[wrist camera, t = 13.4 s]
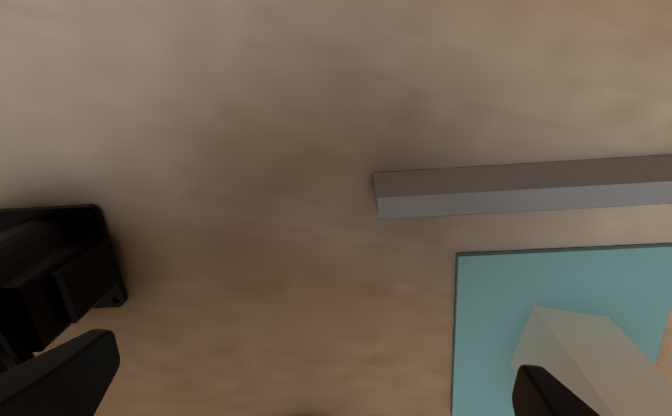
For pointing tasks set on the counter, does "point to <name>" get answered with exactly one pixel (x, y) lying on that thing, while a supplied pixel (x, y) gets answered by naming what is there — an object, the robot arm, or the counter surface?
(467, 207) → the long gray bar
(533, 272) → the mat
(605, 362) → the tall cream pillar
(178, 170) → the counter surface
